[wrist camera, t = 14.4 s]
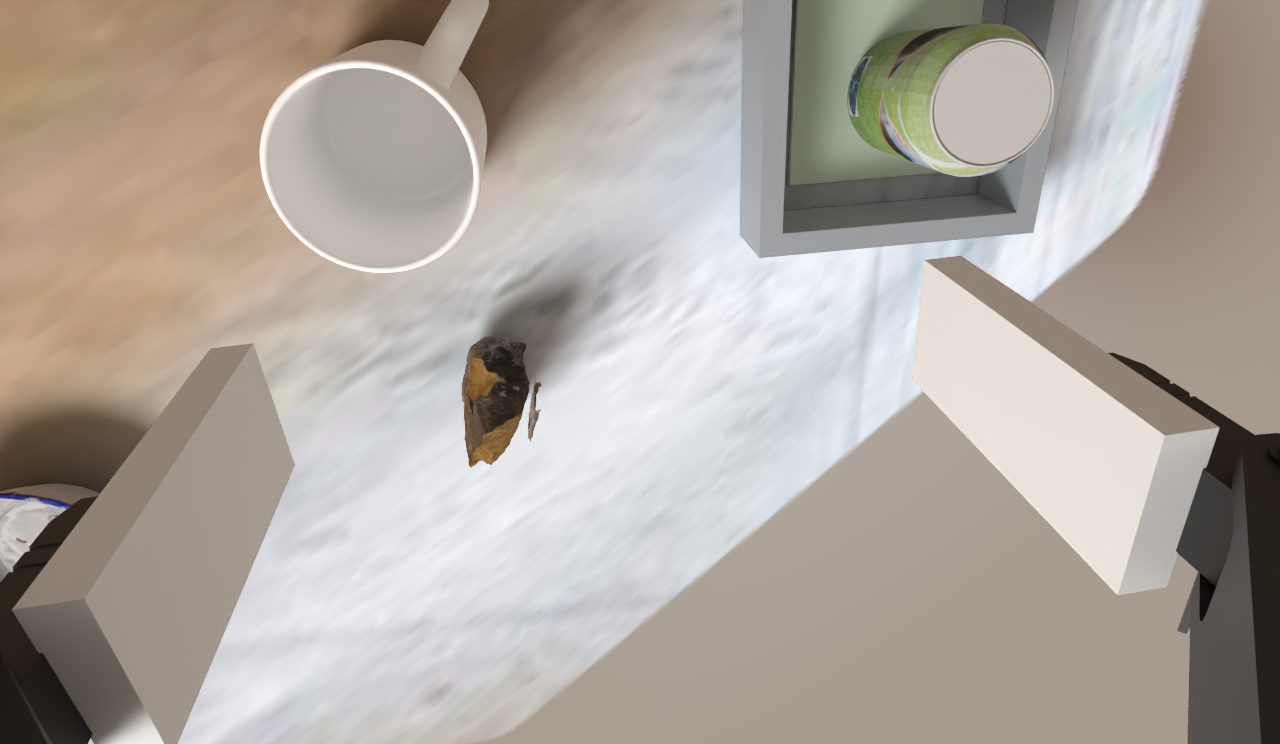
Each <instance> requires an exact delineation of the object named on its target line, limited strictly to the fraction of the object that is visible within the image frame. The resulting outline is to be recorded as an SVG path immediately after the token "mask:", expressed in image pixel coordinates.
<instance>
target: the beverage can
mask: <svg viewBox="0 0 1280 744" xmlns="http://www.w3.org/2000/svg"><path fill="white" fill-rule="evenodd" d="M1054 92H1055V90H1054V81H1053V77H1052V73H1051V70H1050V68H1049V66H1048V62H1047V60H1046V58H1045V57H1044V55H1043V53H1042V51H1041V50H1040V48H1039V47H1038V46H1037V45H1036V43H1035V42H1034V41H1033V40H1032V39H1030V38H1029V37H1028V36H1027V35H1025V34H1024V33H1022V32H1020V31H1018V30H1016V29H1014V28H1012V27H1009V26H1005V25H1001V24H992V23H983V24H973V25H964V26H954V27H945V28H935V29H926V30H916V31H908V32H900V33H897V34H894V35H891V36H888V37H886V38H885V39H883V40H881V41H879V42H878V43H877V44H875V45H874V46H873V47H871V48H870V49H869V50H868V51H867V52H866V53H865V54H864V56H863V57H862V58H861V60H860V61H859V63H858V64H857V66H856V68H855V70H854V72H853V74H852V76H851V80H850V83H849V87H848V94H847V107H848V112H849V117H850V120H851V122H852V125H853V127H854V128H855V130H856V132H857V133H858V135H859V136H860V137H861V138H862V139H863V140H864V141H865V142H866V143H868V144H869V145H871V146H872V147H874V148H876V149H878V150H880V151H883V152H886V153H888V154H891V155H894V156H897V157H900V158H902V159H905V160H908V161H911V162H914V163H916V164H919V165H922V166H925V167H928V168H930V169H933V170H936V171H939V172H942V173H944V174H948V175H953V176H958V177H973V176H981V175H985V174H988V173H992V172H995V171H997V170H999V169H1001V168H1003V167H1005V166H1007V165H1008V164H1010V163H1011V162H1013V161H1014V160H1016V159H1017V158H1018V157H1020V156H1021V155H1022V154H1023V153H1024V152H1025V151H1026V150H1027V149H1028V148H1030V147H1031V146H1032V145H1033V144H1034V143H1035V141H1036V140H1037V139H1038V138H1039V136H1040V135H1041V133H1042V132H1043V130H1044V128H1045V127H1046V125H1047V123H1048V120H1049V118H1050V115H1051V112H1052V108H1053V104H1054Z"/></svg>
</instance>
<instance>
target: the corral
mask: <svg viewBox="0 0 1280 744" xmlns="http://www.w3.org/2000/svg"><path fill="white" fill-rule="evenodd" d="M1077 4H1078V0H1008V4H1007V11H1006V17H1005V23H1004V25H1005V26H1009V27H1012V28H1014V29H1016V30H1018V31H1020V32H1022V33H1024V34H1025V35H1027V36H1028V37H1029V38H1030V39H1032V40H1033V41H1034V42H1035V43H1036V45H1037V46H1038V47H1039V48H1040V50H1041V51H1042V53H1043V55H1044V57H1045V58H1046V60H1047V62H1048V66H1049V68H1050V70H1051V73H1052V77H1053V81H1054V90H1055V92H1054V104H1053V108H1052V112H1051V115H1050V118H1049V120H1048V123H1047V125H1046V127H1045V128H1044V130H1043V132H1042V133H1041V135H1040V136H1039V138H1038V139H1037V140H1036V141H1035V143H1034V144H1033V145H1032V146H1031V147H1030V148H1028V149H1027V150H1026V151H1025V152H1024V153H1023V154H1022V155H1021V156H1020V157H1018V158H1017V159H1016V160H1014V161H1013V162H1011V163H1010V164H1008V165H1007V166H1005V167H1003V168H1001V169H999V170H997V171H995V172H992V173H988V174H985V175H981V177H980V183H979V189H978V194H973V195H961V196H950V197H938V198H926V199H915V200H903V201H892V202H880V203H868V204H857V205H845V206H834V207H822V208H810V209H799V210H787V211H784V187H785V163H786V138H787V114H788V90H789V65H790V41H791V17H792V0H744V14H743V80H742V146H741V212H740V236H741V237H742V238H743V239H744V240H745V241H746V243H747V244H748V245H749V246H750V247H751V248H752V250H753V251H754V252H755V253H756V254H757V255H758V257H759V258H764V257H774V256H785V255H796V254H807V253H818V252H828V251H839V250H850V249H861V248H872V247H882V246H893V245H904V244H915V243H926V242H936V241H947V240H958V239H969V238H980V237H990V236H1001V235H1012V234H1023V233H1033V231H1034V226H1035V221H1036V216H1037V210H1038V205H1039V200H1040V195H1041V190H1042V185H1043V179H1044V174H1045V169H1046V164H1047V159H1048V154H1049V149H1050V143H1051V138H1052V133H1053V128H1054V123H1055V118H1056V112H1057V107H1058V102H1059V97H1060V92H1061V87H1062V82H1063V76H1064V71H1065V66H1066V61H1067V56H1068V51H1069V46H1070V40H1071V35H1072V30H1073V25H1074V20H1075V15H1076V9H1077ZM983 6H984V0H796V9H795V32H794V56H793V79H792V102H791V125H790V148H789V172H788V185H802V184H814V183H826V182H838V181H850V180H863V179H875V178H887V177H899V176H911V175H923V174H935V173H942V172H939V171H936V170H933V169H930V168H928V167H925V166H922V165H919V164H916V163H914V162H911V161H908V160H905V159H902V158H900V157H897V156H894V155H891V154H888V153H886V152H883V151H880V150H878V149H876V148H874V147H872V146H871V145H869V144H868V143H866V142H865V141H864V140H863V139H862V138H861V137H860V136H859V135H858V133H857V132H856V130H855V128H854V127H853V125H852V122H851V120H850V117H849V112H848V107H847V94H848V87H849V83H850V80H851V76H852V74H853V72H854V70H855V68H856V66H857V64H858V63H859V61H860V60H861V58H862V57H863V56H864V54H865V53H866V52H867V51H868V50H869V49H870V48H871V47H873V46H874V45H875V44H877V43H878V42H879V41H881V40H883V39H885V38H886V37H888V36H891V35H894V34H897V33H900V32H908V31H916V30H926V29H935V28H945V27H954V26H964V25H973V24H981V20H982V13H983Z"/></svg>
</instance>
